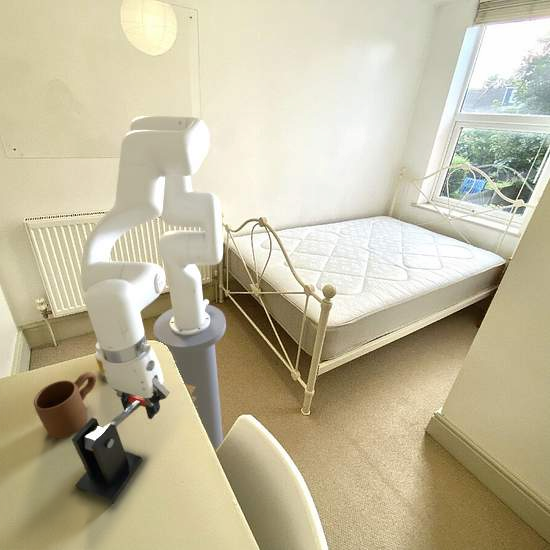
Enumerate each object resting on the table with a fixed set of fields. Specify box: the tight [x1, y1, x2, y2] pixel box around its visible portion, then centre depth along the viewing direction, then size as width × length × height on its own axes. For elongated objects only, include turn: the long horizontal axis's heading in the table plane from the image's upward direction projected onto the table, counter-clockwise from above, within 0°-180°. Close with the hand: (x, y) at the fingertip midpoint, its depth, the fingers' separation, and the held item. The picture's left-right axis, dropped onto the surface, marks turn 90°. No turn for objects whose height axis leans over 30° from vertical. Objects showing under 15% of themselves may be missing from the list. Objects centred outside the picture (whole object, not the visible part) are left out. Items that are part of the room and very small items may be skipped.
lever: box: [85, 395, 146, 451], centre depth 58 cm, size 13×5×2 cm, turn 163°
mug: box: [33, 371, 97, 439], centre depth 67 cm, size 12×8×9 cm, turn 153°
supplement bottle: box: [94, 341, 105, 378], centre depth 78 cm, size 5×5×10 cm
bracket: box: [71, 417, 143, 505], centre depth 55 cm, size 8×8×13 cm
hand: (142, 408), depth 65 cm, fingers closed on lever, 5 cm apart
